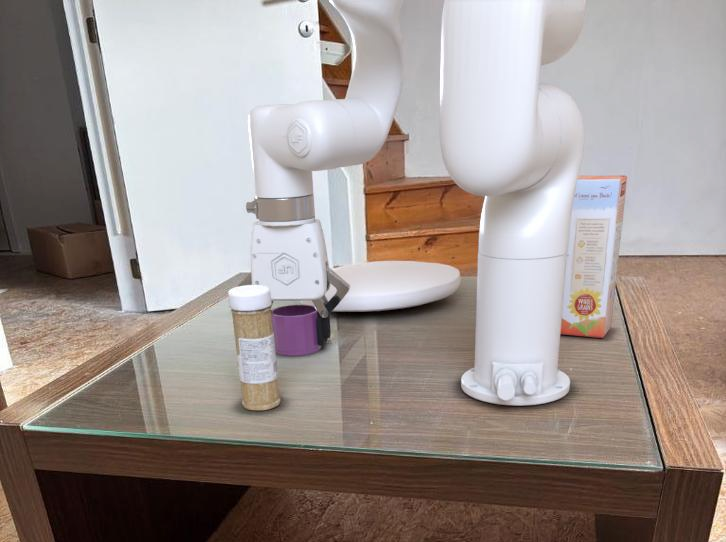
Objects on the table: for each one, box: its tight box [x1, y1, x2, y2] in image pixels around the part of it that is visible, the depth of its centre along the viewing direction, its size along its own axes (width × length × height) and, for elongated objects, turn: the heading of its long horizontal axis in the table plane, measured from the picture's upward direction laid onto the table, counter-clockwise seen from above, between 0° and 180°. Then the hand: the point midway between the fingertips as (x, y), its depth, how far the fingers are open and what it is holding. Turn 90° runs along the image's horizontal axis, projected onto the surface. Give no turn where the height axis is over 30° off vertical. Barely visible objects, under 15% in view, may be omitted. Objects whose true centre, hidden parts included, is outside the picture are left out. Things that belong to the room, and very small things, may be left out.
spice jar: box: [227, 285, 282, 412], centre depth 81 cm, size 5×5×14 cm
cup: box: [271, 304, 322, 357], centre depth 103 cm, size 7×7×6 cm
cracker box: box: [560, 174, 628, 339], centre depth 102 cm, size 14×6×21 cm, turn 63°
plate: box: [299, 260, 462, 313], centre depth 125 cm, size 28×6×27 cm
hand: (297, 342), depth 103 cm, fingers closed on cup, 6 cm apart
